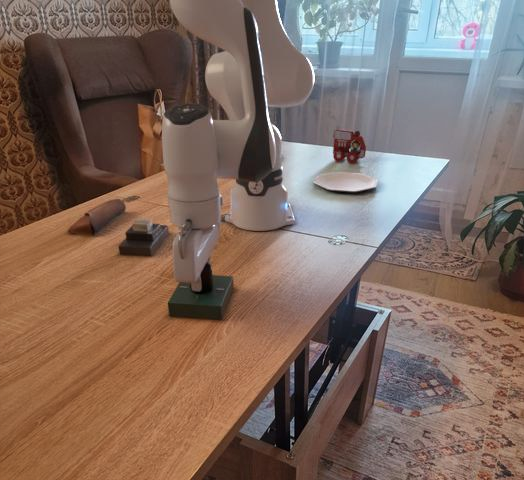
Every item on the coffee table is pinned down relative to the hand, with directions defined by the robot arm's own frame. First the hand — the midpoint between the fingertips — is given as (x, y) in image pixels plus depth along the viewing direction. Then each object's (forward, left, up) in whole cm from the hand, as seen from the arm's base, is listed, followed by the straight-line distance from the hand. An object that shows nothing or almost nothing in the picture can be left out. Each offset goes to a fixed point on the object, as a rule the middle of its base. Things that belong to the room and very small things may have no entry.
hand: (201, 282), depth 91 cm
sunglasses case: (-38, -38, -5) cm, 54 cm away
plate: (-79, +28, -5) cm, 84 cm away
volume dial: (0, 0, -1) cm, 1 cm away
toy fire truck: (-110, +29, -5) cm, 114 cm away
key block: (-26, -21, -4) cm, 33 cm away
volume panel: (0, 0, -4) cm, 4 cm away
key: (-26, -21, -1) cm, 33 cm away
